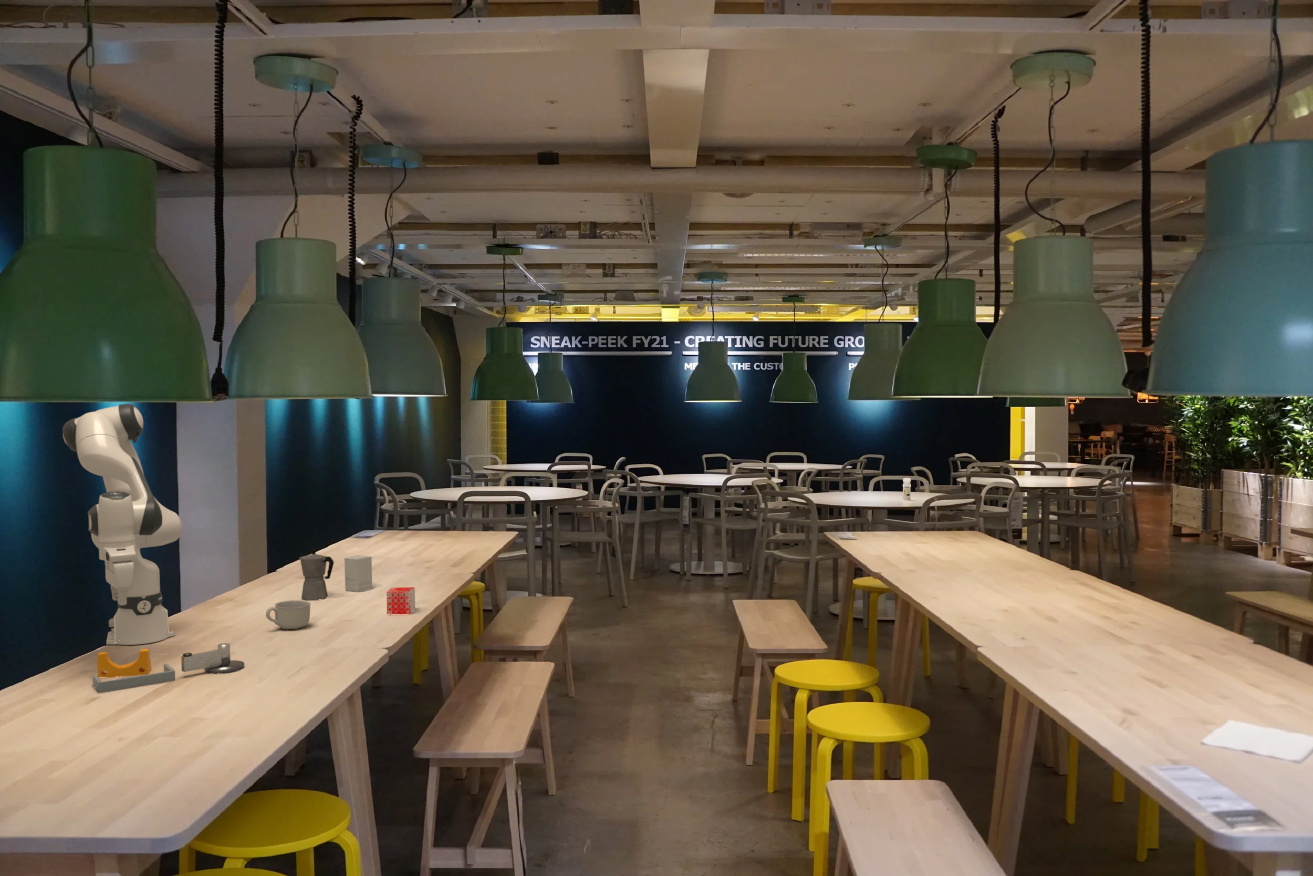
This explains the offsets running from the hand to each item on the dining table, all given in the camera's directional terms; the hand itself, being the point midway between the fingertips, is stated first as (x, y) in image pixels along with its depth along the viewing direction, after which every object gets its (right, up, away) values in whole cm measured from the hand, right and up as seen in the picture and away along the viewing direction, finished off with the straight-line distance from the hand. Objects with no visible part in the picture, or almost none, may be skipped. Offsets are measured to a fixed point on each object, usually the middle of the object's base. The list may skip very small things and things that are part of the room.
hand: (119, 602), depth 278 cm
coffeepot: (+22, -14, +96) cm, 99 cm away
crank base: (+29, -18, -1) cm, 34 cm away
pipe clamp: (+4, -19, -5) cm, 20 cm away
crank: (+26, -17, -4) cm, 31 cm away
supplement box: (+33, -13, +111) cm, 117 cm away
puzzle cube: (+59, -15, +70) cm, 93 cm away
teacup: (+29, -16, +47) cm, 57 cm away
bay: (+11, -19, -13) cm, 25 cm away
